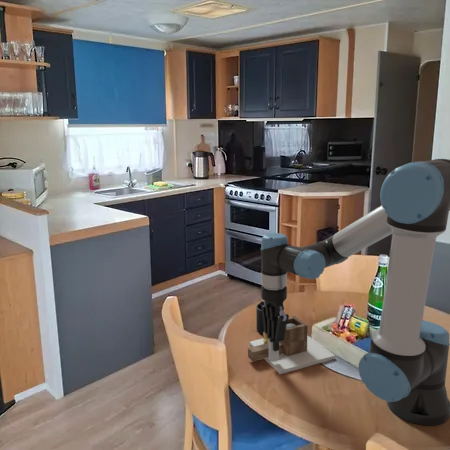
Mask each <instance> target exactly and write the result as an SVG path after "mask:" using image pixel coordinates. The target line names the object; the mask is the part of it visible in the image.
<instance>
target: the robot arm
mask: <svg viewBox="0 0 450 450" xmlns="http://www.w3.org/2000/svg"><path fill="white" fill-rule="evenodd" d="M379 195H380V196H379V198H380V206H378V207H376V208H375V209H373V210H372V211H370V212H368V213H366V214H365V215H363V216H362V217H360V218H358V219H357V220H356V221H353V222H352V223H351V224H349V225H347V226H346V227H344V228H342V229H340V230H339V231H338V232H336V233H335V234H333V235H331V236H329V237H327V238H326V239H324V240H322V241H318V242H314V243H312V244H307V245H305V246H295V245H292V244H289V241H288V240H289V239H288V236H287V234H285V233H284V234H283V233H280V232H271V233H270V232H269V233H266V234H264V235H263V236H262V237H261V244H260V245H261V247H260V257H261V259H260V263H261V264H260V265H261V269H260V270H261V271H260V284H261V288H260V289H261V290H260V291H261V292H260V293H261V294H260V297H261V299H262V300H263V301H259V303H260V305H261V308H262V316H263V324H264V332H265V334H267V337H268V338H269V359H270V360H271V361H272V360H276V359H279V342H280V341H283V340H284V335H285V330H286V324H287V320H288V318H289V317H290V316H289V314H288V313H285V311H284V310H285V307H284V302H285V301H286V300H287V297H288V287H287V286H288V285H287V284H288V280H287V279H288V277H287V276H288V273H290V274H293V275H295V276H298V277H300V278H303V279H304V278H305V279H308V280H317V279H319V277H320V276H321V275H322V274H323V273H324V272H325V269H326V268H328V267H331V266H334V265H339V264H342V263H343V262H345V261H347V260H348V259H349V257H352V256H353V255H356V254H358V253H360V252H361V251H363V250H364V249H366V248H368V247H370V246H372V245H374V244H376V243H377V242H379V241H382V240H383V239H385V238H386V237H389V236H391V242H390V243H391V244H390V250H389V255H388V257H389V258H388V266H387V272H386V279H385V286H384V287H385V288H384V293H383V294H384V295H383V300H382V301H383V302H382V308H381V317H380V322H379V328H376V329H375V330H374V331H373V332H372V333H371V338H370V344H369V345H370V346H369V351H368V352H367V353H365V354H364V355H362V357H361V358H360V359H359V361H358V373H359V376H360V379H361V381H362V383H363V384H364V386H366V388H367V390H368V391H369V392H370V393H371V394H373V395H374V396H375V397H377V398H379V400H382V401H385V402H386V405H387V407H388V408H389V410H390V411H391V412H392V413H393V414H395V415H396V416H397V417H398V418H401V419H402V420H404V421H407V422H409V423H412V424H416V425H420V426H421V425H422V426H438V425H439V426H440V425H442V424H443V423H446V422H447V421H448V420H449V418H450V400H449V398H448V392H447V387H446V378H447V368H448V360H449V351H450V333H449V331H448V330H447V329H446V328H445V327H443V326H441V325H439V324H437V323H435V322H431V321H427V320H423V318H424V312H425V309H426V307H425V305H426V301H427V294H428V290H429V283H430V279H431V278H430V277H431V273H432V265H433V259H434V255H435V253H434V252H435V247H436V240H437V237H439V236H440V235H441V234H444V233H445V232H446V230H447V225H448V219H449V214H450V159H447V158H435V159H432V160H430V159H429V160H422V161H410V162H409V163H406V164H403V165H401V166H398V167H396V168H395V169H394V170H392V171H391V172H389V173H388V175H387V176H386V177H385V179H384V181H383V183H382V185H381V188H380V192H379Z"/></svg>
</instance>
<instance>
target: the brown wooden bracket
mask: <svg viewBox="0 0 450 450" xmlns="http://www.w3.org/2000/svg"><path fill="white" fill-rule="evenodd" d="M290 323H291V324H295V325H296V326H293V327H289V328H288V327H287V326H286V330H285V335H284V340H283V341H280V342H279V354H282V353H283V354H285V355H286V356H290V355H294V354H298V353H301V352H305V351H307V335H308V332H309V331H308V326H309V325H308V324H307V323H305V322H304V321H303V320H301V319H299V317H297V316H296V315H293V316H289V318H288V320H287V324H290ZM247 357H248V358H249V359H250V360H251V362H255V361H258V360H264V359H263V358H267V357H269V343H266V344H262V345H258V346H254V347H251V346H250V347H247Z"/></svg>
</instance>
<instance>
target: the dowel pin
mask: <svg viewBox="0 0 450 450" xmlns="http://www.w3.org/2000/svg"><path fill="white" fill-rule="evenodd" d="M262 335H263V337H262V339H263V344H266V343H269V338H268V337H267V334H265V332H263V334H262Z"/></svg>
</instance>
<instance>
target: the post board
mask: <svg viewBox="0 0 450 450" xmlns="http://www.w3.org/2000/svg"><path fill="white" fill-rule="evenodd" d="M286 326H287V327H288V328H289V327H293V326H296V325H295V324H291V323H290V324H286ZM262 344H263V338H260V339H256V340H251V341H249V342H248V345H249V346H250V347H254V346H258V345H262ZM332 359H333V360H335V359H336V355H335V354H334V353H332V352H331V351H330V350H328V349H327V348H325V346H323V345H321V344H320V343H319V342H318V341H316V340H315V341H314V339H313V338H312V337H310V336H309V335H308V334H307V351H305V352H301V353H298V354H294V355H290V356H286V355H285V354H283V353H282V354H279V359H276V360H272V361H271V360H270V359H269V357H267V358H263V359H262V360H265V362H267V363H268V364H269V365H270V366H271V367H272V368H273V369H274V370H275V371H276V372H277V373H278V374H279V375H282V374H286V373H290V372H292V371H297V370H300V369H304V368H307V367H310V366H314V365H319V364H321V363H325V362H329V361H331V360H332ZM328 360H329V361H328Z"/></svg>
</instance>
